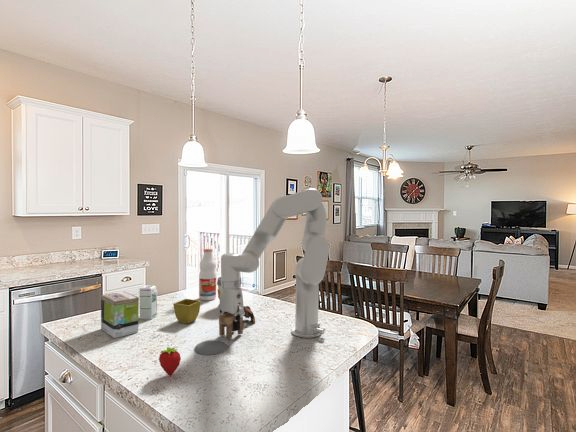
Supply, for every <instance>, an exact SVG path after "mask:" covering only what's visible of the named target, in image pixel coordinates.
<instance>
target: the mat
mask: <svg viewBox="0 0 576 432" xmlns="http://www.w3.org/2000/svg"><path fill="white" fill-rule="evenodd" d="M228 346H229V345H228V343H227V342H225V341H222V340H215V339H213V340H205V341H201V342H199V343H197V344H196V345H195V346H194V351H195V353H197V354H199V355H202V356H214V355H219V354H221V353H224V352H225V351H227V350H228V348H229V347H228Z"/></svg>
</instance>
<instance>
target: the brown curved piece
mask: <svg viewBox="0 0 576 432" xmlns="http://www.w3.org/2000/svg"><path fill="white" fill-rule="evenodd" d="M243 307H244V309H243V310H244V312H245V314H244V316H243V318H244V317H245V318H246V319H247V318H248V319H250V321H252V323H253V325H255V323H256V318H255V315H254V312H253V311H252V309H251V307H250V305H249V306H248V305H246V306H244V305H243ZM236 312H237V311H236Z"/></svg>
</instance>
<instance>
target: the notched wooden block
mask: <svg viewBox="0 0 576 432" xmlns="http://www.w3.org/2000/svg"><path fill="white" fill-rule="evenodd" d="M236 313H237V312H236ZM236 317H237V314H236ZM233 321H234V318H233V314H230V313H225V314H222V315H221V314H220V315H218V329H219V331H218V332H219V333H218V334H219V336H221V337H223V336H225V335H226V336H225V337H226V339H228V340H230V339H232V338H233V336H232V335H233V333H235V331H233ZM243 324H244V316H243V317H242V318H241V320H240V330H237V331H236V332H237V334H238V335H241V334H242V335H243V334H244V329H243V328H244V325H243ZM225 325H226V327H225ZM225 329H226V330H225Z"/></svg>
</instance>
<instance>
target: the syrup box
mask: <svg viewBox="0 0 576 432" xmlns="http://www.w3.org/2000/svg"><path fill="white" fill-rule="evenodd" d="M138 291H139V292H138V293H139V296H138V297H139V319H140V320H153V319H154V318H156V317H157V315H158V313H157V312H158V307H157V305H158V304H157V302H158V300H157V299H158V298H157V297H158V294H157V285H154V284H153V285H151V284H149V285H144V286H141V287H139V289H138Z"/></svg>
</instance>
